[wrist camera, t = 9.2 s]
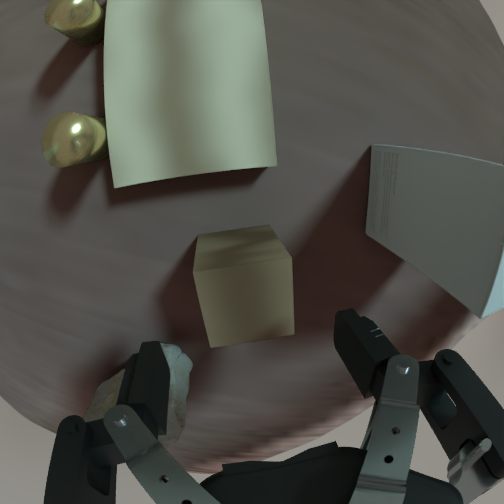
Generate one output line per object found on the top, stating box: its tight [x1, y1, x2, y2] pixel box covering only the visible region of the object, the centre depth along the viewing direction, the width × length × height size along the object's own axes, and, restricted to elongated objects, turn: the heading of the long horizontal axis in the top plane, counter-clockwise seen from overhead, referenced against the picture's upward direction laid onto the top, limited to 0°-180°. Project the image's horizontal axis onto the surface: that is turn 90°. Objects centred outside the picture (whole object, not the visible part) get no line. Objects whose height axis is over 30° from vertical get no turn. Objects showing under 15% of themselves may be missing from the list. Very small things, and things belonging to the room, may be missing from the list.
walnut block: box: [193, 225, 294, 348], centre depth 17 cm, size 5×5×6 cm
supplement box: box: [365, 144, 504, 319], centre depth 14 cm, size 7×7×13 cm
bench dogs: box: [42, 0, 109, 167], centre depth 11 cm, size 3×12×5 cm, turn 6°
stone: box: [82, 343, 193, 448], centre depth 18 cm, size 14×6×10 cm, turn 122°
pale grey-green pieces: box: [104, 0, 277, 188], centre depth 14 cm, size 10×16×2 cm, turn 5°
